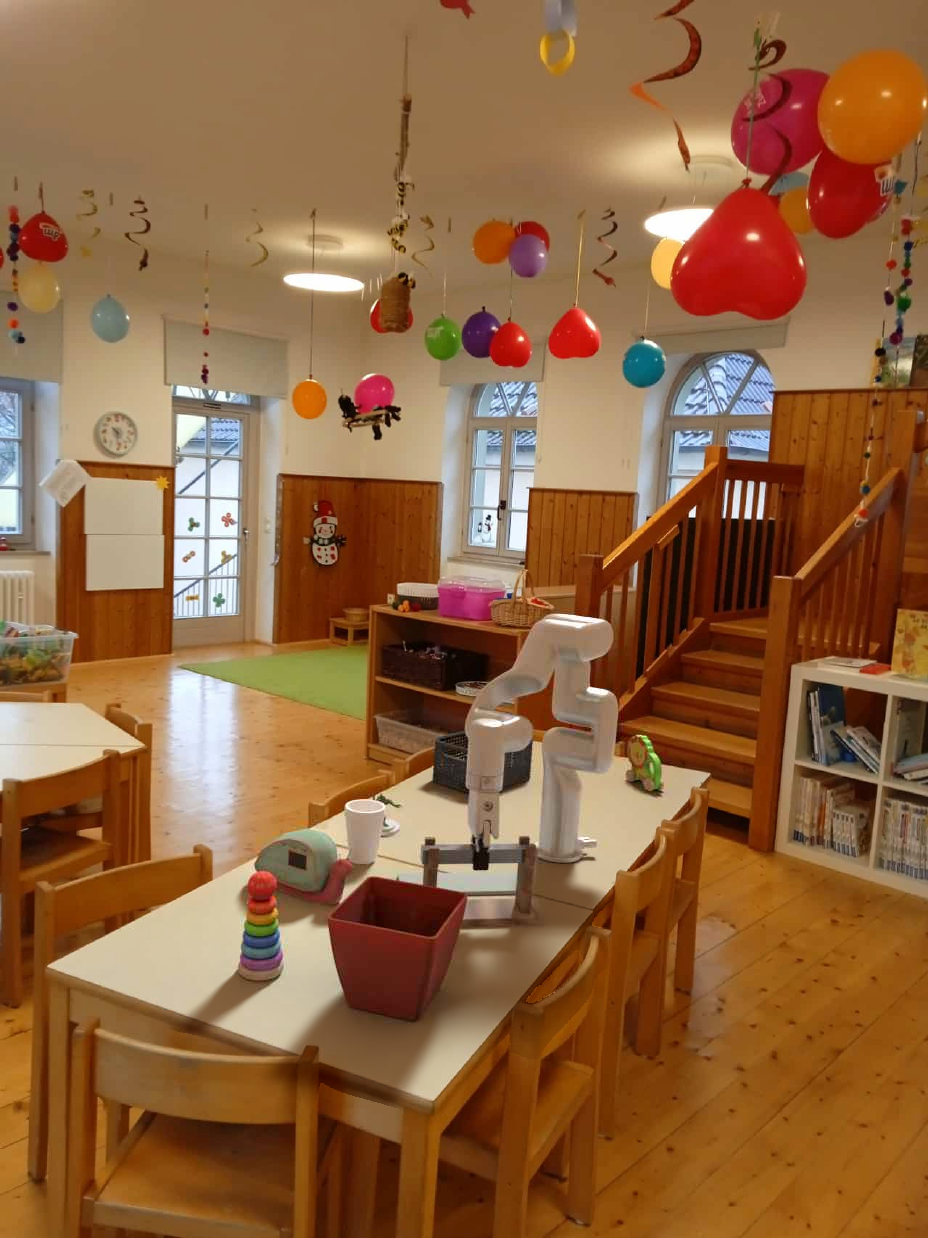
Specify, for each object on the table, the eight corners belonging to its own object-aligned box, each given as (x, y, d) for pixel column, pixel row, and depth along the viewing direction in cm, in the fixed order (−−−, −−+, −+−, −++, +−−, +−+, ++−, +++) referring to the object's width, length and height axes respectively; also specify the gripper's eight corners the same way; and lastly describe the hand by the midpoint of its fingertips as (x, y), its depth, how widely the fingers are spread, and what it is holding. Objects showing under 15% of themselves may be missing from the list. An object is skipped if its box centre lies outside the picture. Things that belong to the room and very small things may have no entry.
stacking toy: (241, 960, 171) (244, 862, 169) (285, 960, 172) (289, 863, 169) (234, 982, 163) (237, 880, 161) (280, 983, 164) (284, 881, 161)
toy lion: (664, 792, 286) (669, 743, 284) (649, 793, 284) (654, 744, 282) (634, 776, 300) (638, 730, 298) (620, 777, 298) (624, 731, 296)
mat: (517, 875, 217) (518, 872, 217) (528, 893, 207) (528, 890, 207) (397, 877, 211) (397, 873, 211) (402, 896, 202) (402, 892, 202)
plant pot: (365, 960, 174) (369, 873, 172) (463, 981, 169) (469, 892, 166) (320, 1013, 156) (324, 917, 153) (429, 1038, 150) (435, 939, 148)
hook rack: (528, 905, 201) (533, 833, 199) (539, 924, 193) (544, 850, 190) (412, 907, 197) (417, 834, 194) (418, 927, 188) (423, 851, 186)
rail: (533, 857, 197) (534, 843, 196) (537, 863, 194) (538, 849, 193) (420, 858, 192) (421, 844, 192) (422, 864, 189) (423, 850, 189)
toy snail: (248, 882, 204) (250, 822, 202) (272, 871, 211) (275, 812, 209) (338, 915, 191) (340, 851, 189) (361, 903, 198) (364, 840, 196)
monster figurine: (361, 839, 233) (363, 799, 231) (346, 822, 244) (348, 784, 242) (406, 834, 238) (408, 795, 236) (390, 818, 249) (392, 781, 247)
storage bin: (486, 764, 304) (489, 724, 302) (535, 778, 292) (538, 737, 290) (427, 782, 282) (429, 738, 280) (477, 798, 270) (480, 753, 268)
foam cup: (389, 856, 223) (392, 803, 221) (372, 870, 215) (375, 815, 213) (353, 849, 226) (355, 797, 224) (335, 862, 218) (338, 808, 216)
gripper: (511, 793, 183) (505, 882, 186) (493, 768, 199) (488, 850, 202) (474, 793, 182) (468, 883, 185) (459, 767, 198) (453, 851, 200)
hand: (478, 865), depth 193 cm, fingers closed on rail, 3 cm apart
